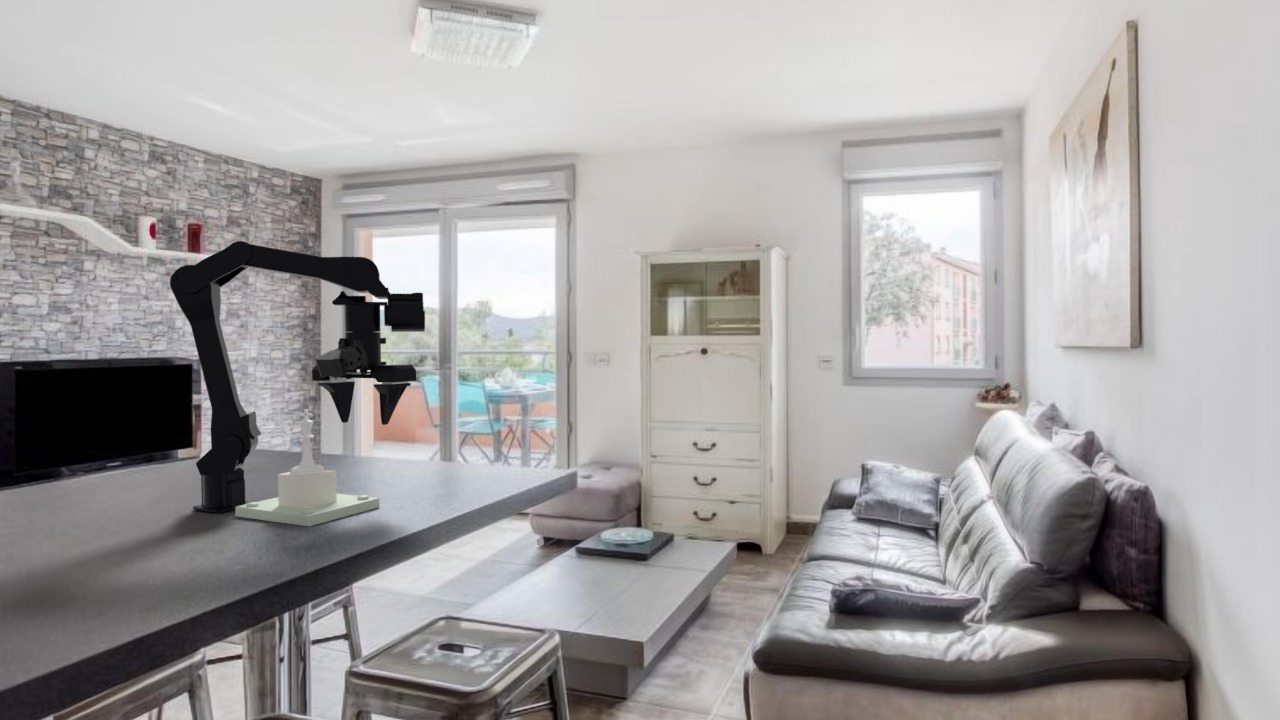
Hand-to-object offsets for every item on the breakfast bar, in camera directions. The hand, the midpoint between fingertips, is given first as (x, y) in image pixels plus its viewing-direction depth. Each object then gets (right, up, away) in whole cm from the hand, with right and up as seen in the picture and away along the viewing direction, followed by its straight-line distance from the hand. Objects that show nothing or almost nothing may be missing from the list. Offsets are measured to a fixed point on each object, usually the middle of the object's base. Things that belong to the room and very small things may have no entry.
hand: (364, 423), depth 132 cm
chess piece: (-5, -7, -11) cm, 14 cm away
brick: (-5, -12, -10) cm, 17 cm away
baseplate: (-6, -13, -9) cm, 17 cm away
